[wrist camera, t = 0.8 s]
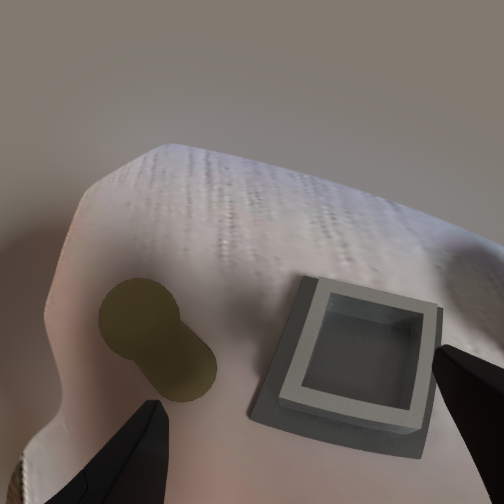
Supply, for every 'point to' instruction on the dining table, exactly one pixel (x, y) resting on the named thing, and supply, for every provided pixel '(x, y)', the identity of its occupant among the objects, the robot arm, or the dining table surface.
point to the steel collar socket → (354, 369)
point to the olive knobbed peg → (157, 339)
